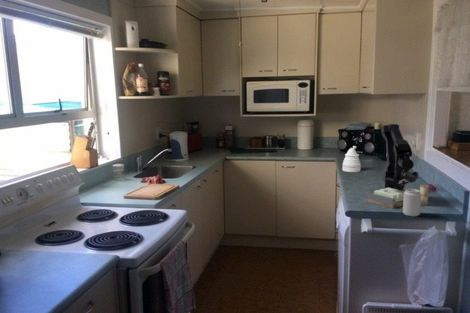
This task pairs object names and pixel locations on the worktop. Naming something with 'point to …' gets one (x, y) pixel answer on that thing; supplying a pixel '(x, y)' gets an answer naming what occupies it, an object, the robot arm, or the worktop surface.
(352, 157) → the honey pot
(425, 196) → the dowel
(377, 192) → the block
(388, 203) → the board
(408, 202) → the can
